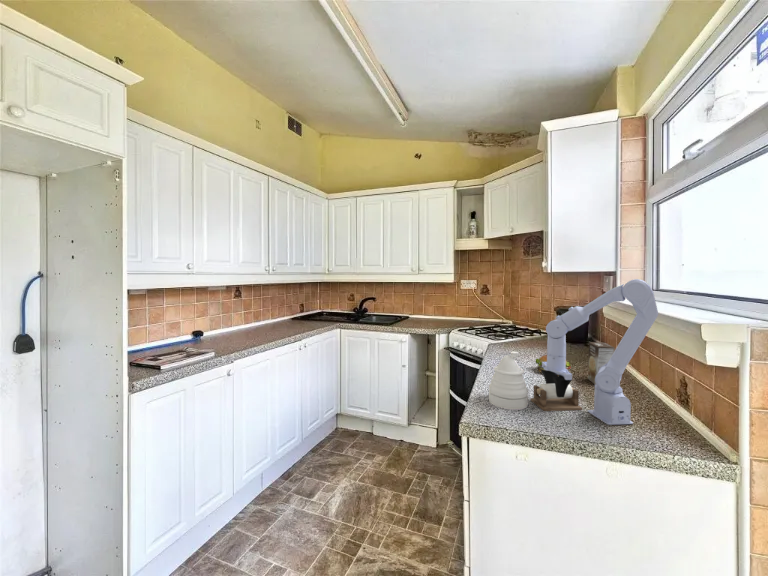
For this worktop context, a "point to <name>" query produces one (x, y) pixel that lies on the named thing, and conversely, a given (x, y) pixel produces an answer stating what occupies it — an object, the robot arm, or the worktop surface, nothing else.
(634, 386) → the worktop surface
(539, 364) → the food
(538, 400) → the holder
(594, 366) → the coffee box
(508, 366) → the honey pot
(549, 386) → the paper roll
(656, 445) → the worktop surface
